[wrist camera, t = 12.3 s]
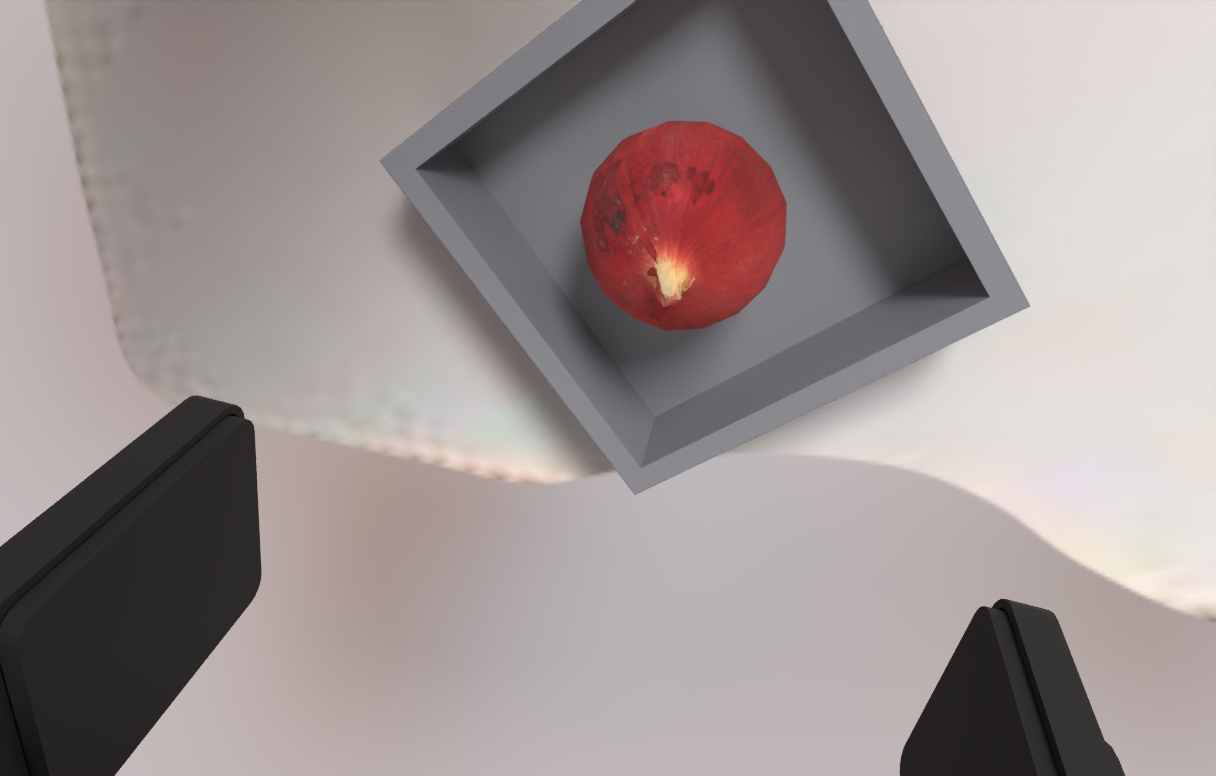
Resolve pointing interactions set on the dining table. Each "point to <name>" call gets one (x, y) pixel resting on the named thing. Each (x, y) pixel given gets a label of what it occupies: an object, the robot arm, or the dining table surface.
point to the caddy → (807, 175)
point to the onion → (683, 225)
